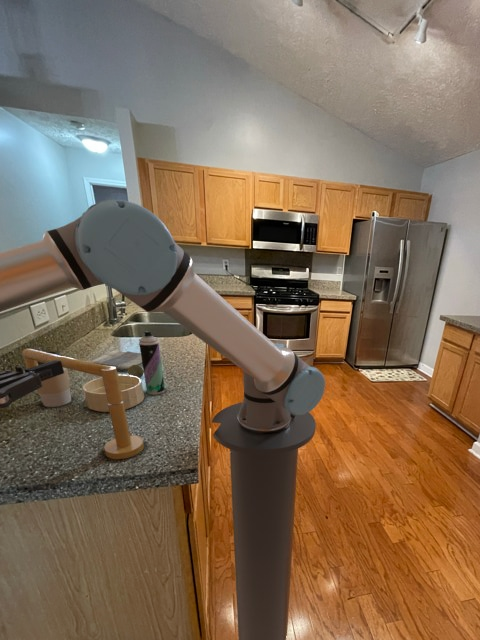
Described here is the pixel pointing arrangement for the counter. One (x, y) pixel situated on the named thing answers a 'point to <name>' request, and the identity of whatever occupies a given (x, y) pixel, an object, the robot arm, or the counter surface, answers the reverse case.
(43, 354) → the faucet spout
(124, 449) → the base
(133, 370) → the lime
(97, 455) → the counter surface
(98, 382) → the cream bowl
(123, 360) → the dish towel
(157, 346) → the spray can
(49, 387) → the coffee cup
